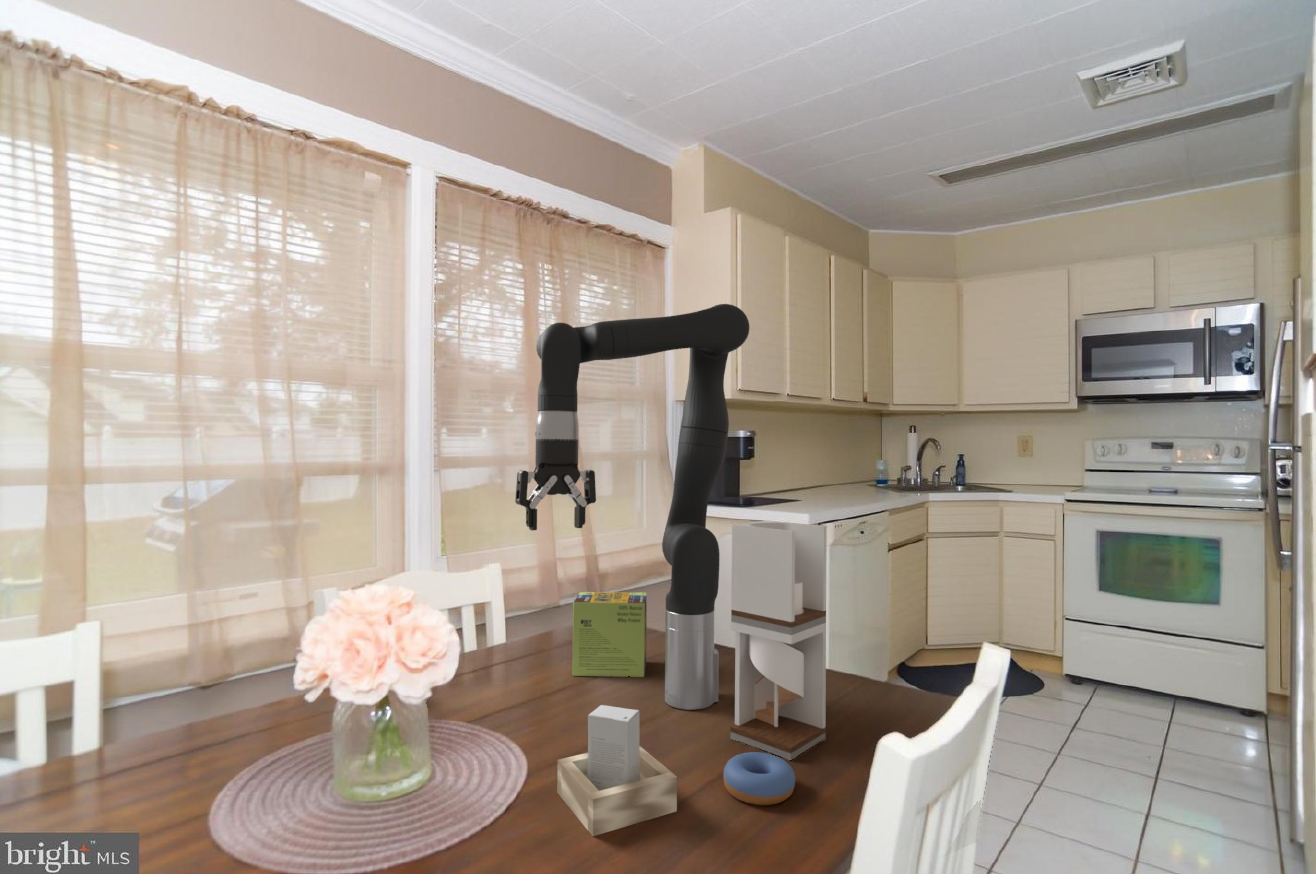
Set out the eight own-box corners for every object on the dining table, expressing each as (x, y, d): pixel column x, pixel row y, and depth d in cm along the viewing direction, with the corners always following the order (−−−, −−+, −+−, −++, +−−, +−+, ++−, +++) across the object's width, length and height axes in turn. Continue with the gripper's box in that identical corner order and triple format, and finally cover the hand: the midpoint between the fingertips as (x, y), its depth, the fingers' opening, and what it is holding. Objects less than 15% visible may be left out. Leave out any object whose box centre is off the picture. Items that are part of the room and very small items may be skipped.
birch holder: (634, 772, 99) (634, 741, 99) (676, 811, 89) (677, 776, 89) (557, 792, 93) (557, 759, 93) (592, 836, 83) (593, 799, 83)
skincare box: (640, 798, 92) (641, 709, 92) (628, 814, 88) (629, 721, 88) (599, 790, 94) (600, 703, 94) (586, 805, 90) (587, 714, 90)
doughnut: (778, 816, 88) (778, 778, 88) (710, 798, 93) (710, 763, 94) (806, 791, 96) (805, 757, 96) (741, 776, 101) (741, 744, 102)
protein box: (645, 677, 141) (645, 602, 141) (571, 676, 141) (572, 601, 141) (646, 661, 151) (647, 591, 151) (577, 660, 151) (578, 591, 152)
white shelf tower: (730, 739, 111) (732, 525, 112) (766, 720, 119) (768, 520, 120) (790, 761, 103) (792, 531, 104) (825, 739, 111) (826, 526, 112)
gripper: (525, 436, 114) (524, 533, 113) (602, 437, 121) (601, 529, 120) (511, 437, 120) (510, 528, 120) (585, 438, 127) (584, 524, 127)
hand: (556, 528), depth 120 cm, fingers open, 8 cm apart
